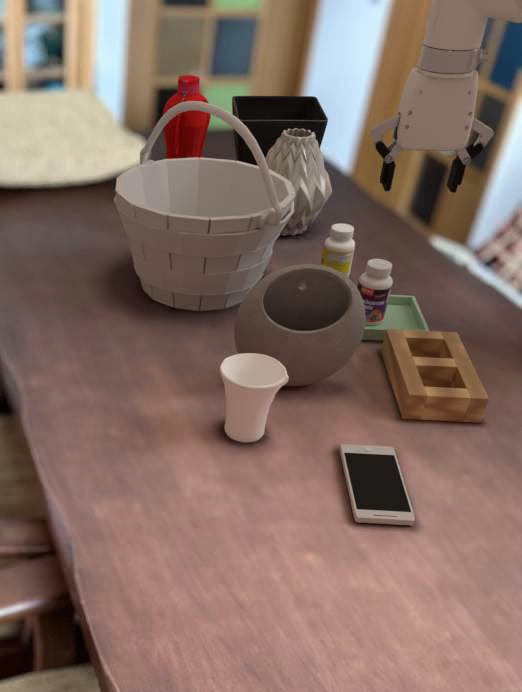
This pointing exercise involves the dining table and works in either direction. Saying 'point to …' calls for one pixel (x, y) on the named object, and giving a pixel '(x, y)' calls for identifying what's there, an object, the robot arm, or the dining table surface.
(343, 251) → the supplement bottle
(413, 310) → the tray
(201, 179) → the basket
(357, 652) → the dining table surface
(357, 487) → the smartphone
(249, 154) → the flower pot
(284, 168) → the vase
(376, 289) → the pill bottle
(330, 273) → the planter
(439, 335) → the frame
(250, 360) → the cup
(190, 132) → the water bottle
